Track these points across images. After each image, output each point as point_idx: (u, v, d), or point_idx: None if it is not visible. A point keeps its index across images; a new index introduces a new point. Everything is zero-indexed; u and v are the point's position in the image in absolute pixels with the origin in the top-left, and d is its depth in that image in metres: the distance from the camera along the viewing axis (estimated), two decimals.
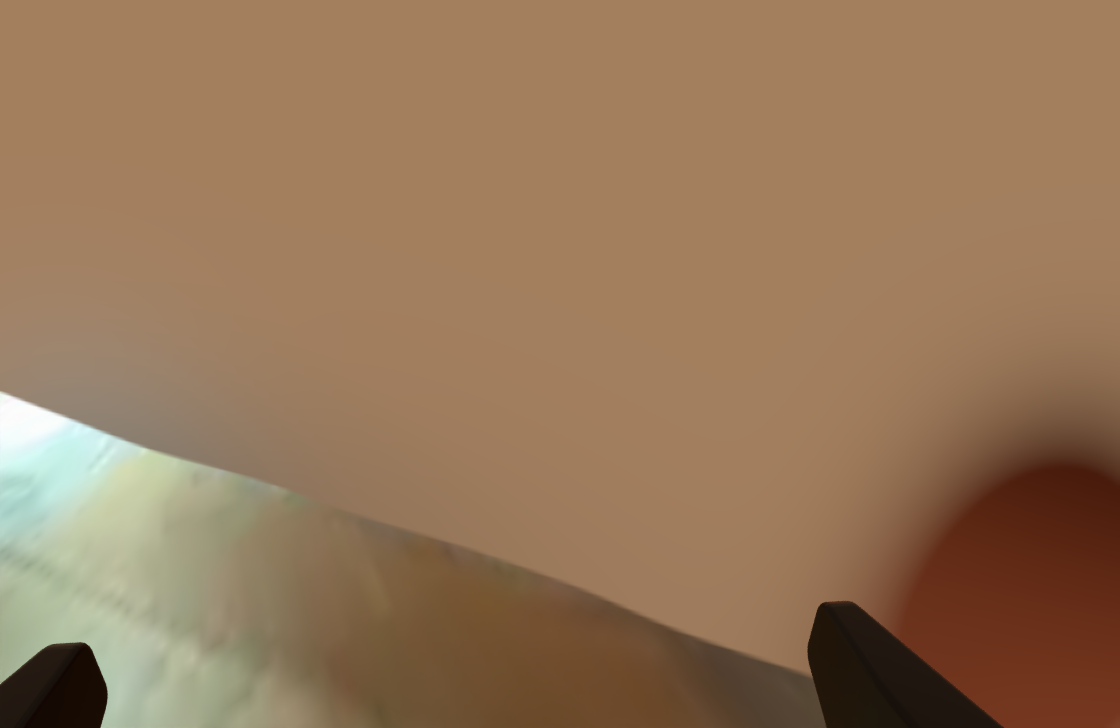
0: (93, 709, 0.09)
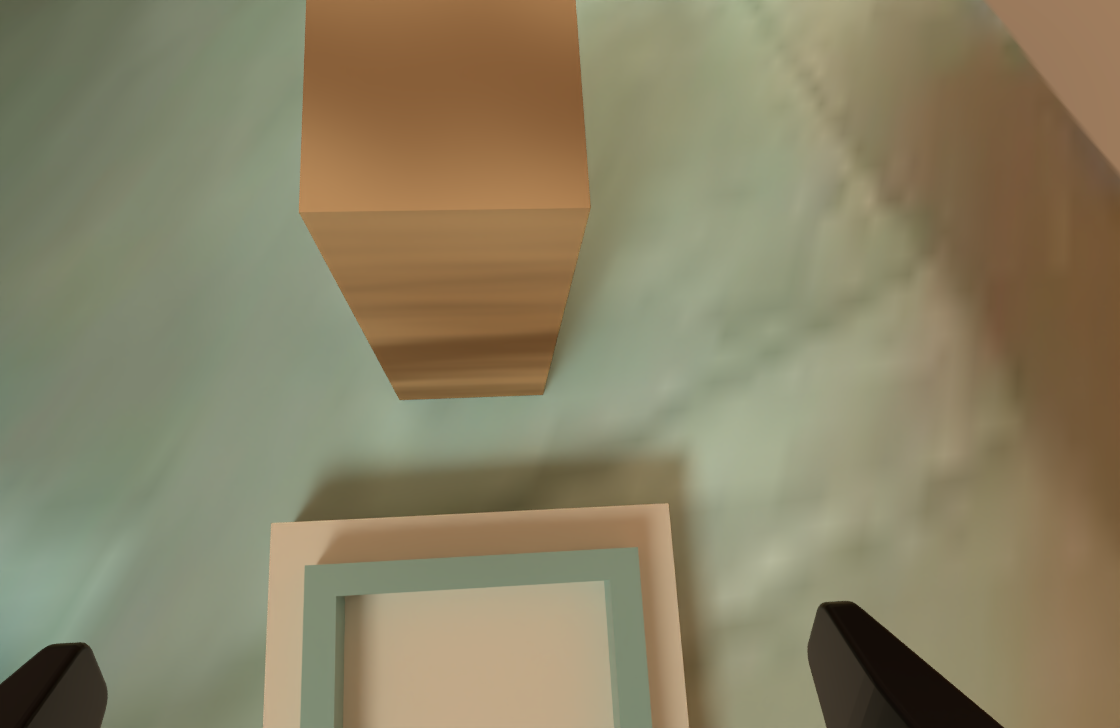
0: (93, 709, 0.09)
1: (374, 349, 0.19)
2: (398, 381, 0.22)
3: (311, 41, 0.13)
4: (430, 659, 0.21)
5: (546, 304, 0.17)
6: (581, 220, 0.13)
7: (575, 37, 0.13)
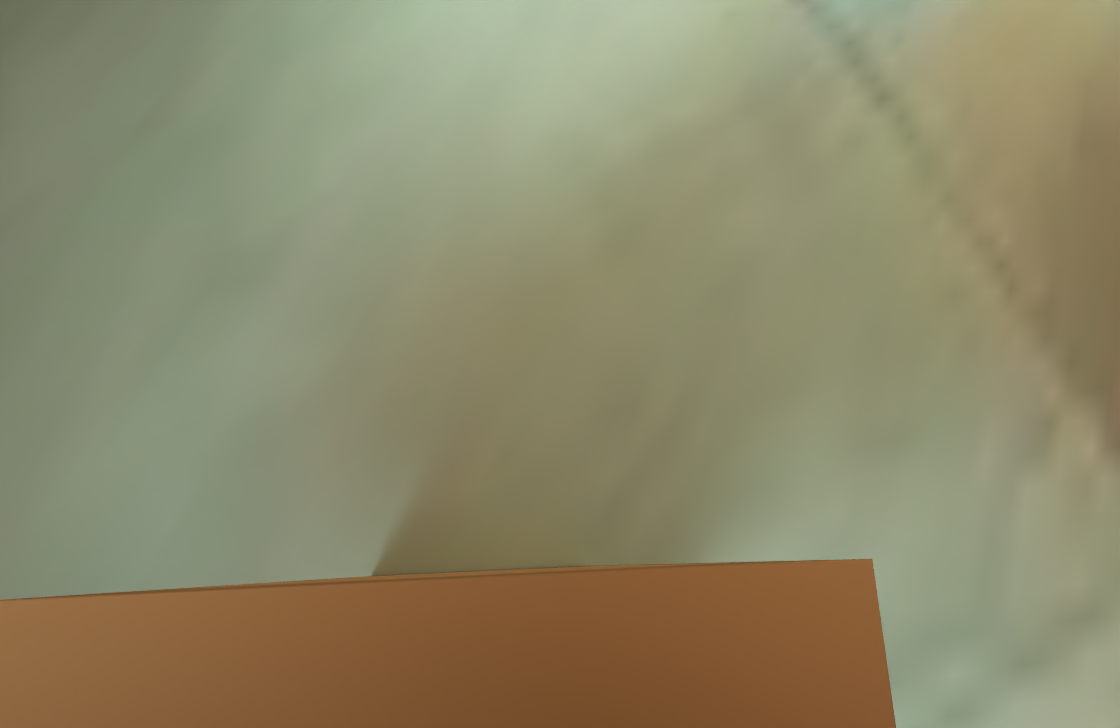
0: None
1: None
2: None
3: None
4: None
5: None
6: None
7: None
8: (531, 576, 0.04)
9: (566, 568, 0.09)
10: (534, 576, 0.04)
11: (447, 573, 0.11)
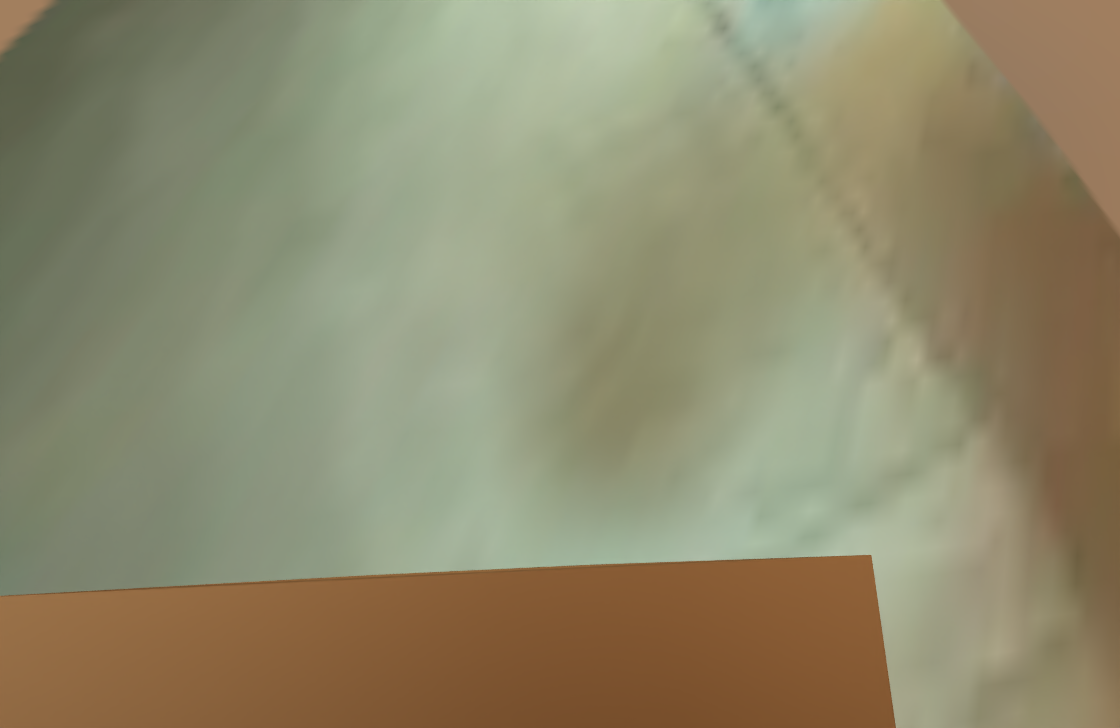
0: None
1: None
2: None
3: None
4: None
5: None
6: None
7: None
8: (530, 572, 0.04)
9: None
10: (533, 572, 0.04)
11: None
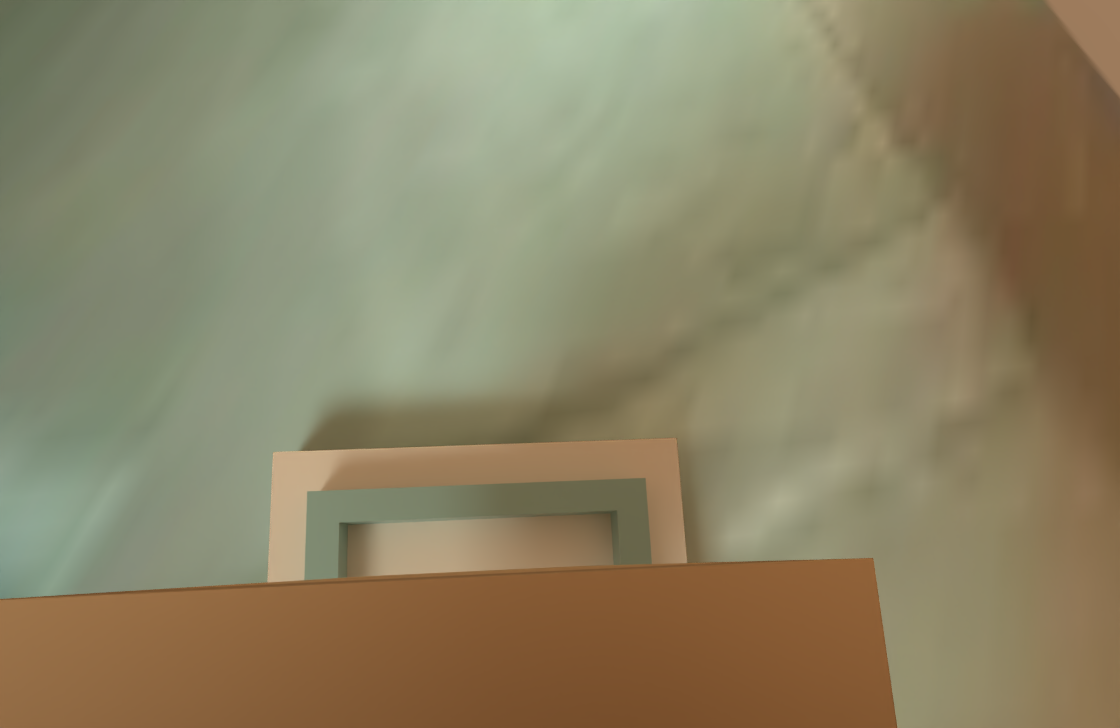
0: None
1: None
2: None
3: None
4: None
5: None
6: None
7: None
8: (530, 576, 0.04)
9: None
10: (533, 576, 0.04)
11: None
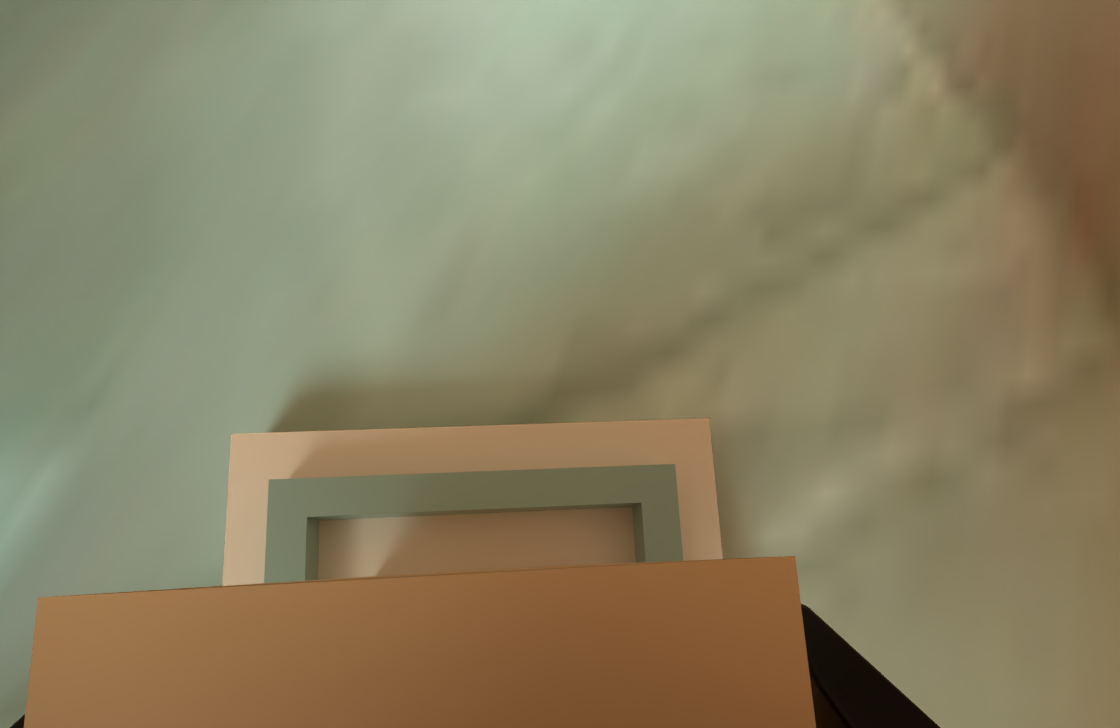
0: None
1: None
2: None
3: None
4: None
5: None
6: None
7: None
8: (518, 571, 0.05)
9: None
10: (521, 571, 0.05)
11: None
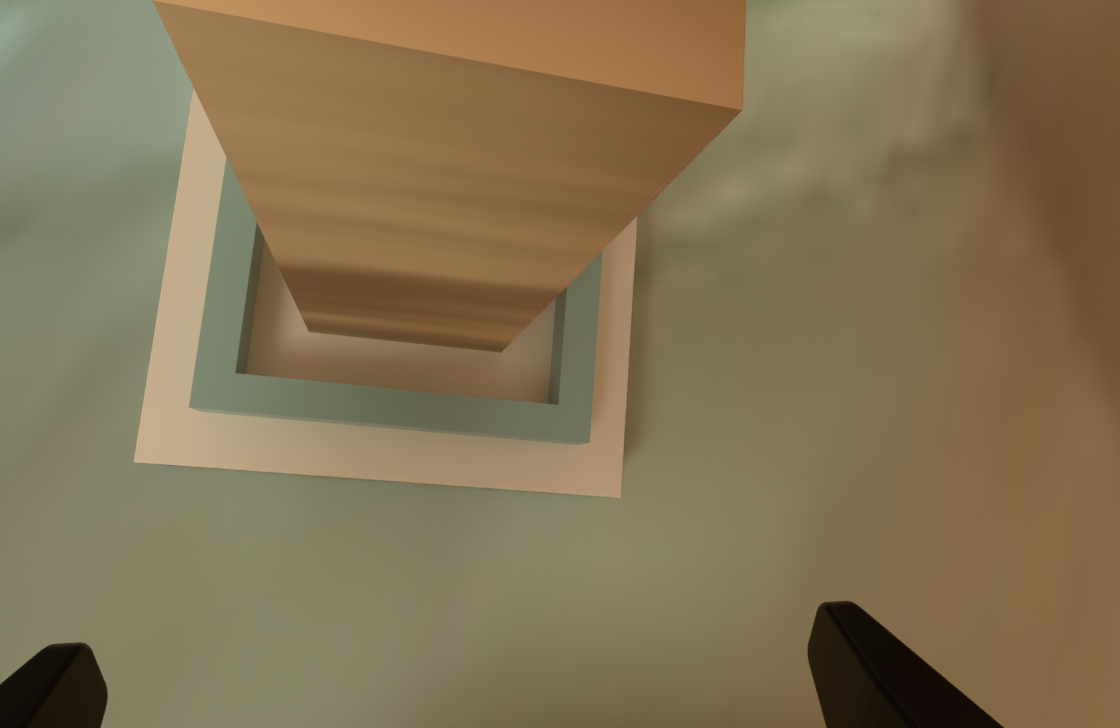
0: (93, 709, 0.09)
1: (282, 270, 0.13)
2: (311, 312, 0.16)
3: None
4: None
5: (565, 253, 0.11)
6: (709, 131, 0.07)
7: None
8: None
9: None
10: None
11: None
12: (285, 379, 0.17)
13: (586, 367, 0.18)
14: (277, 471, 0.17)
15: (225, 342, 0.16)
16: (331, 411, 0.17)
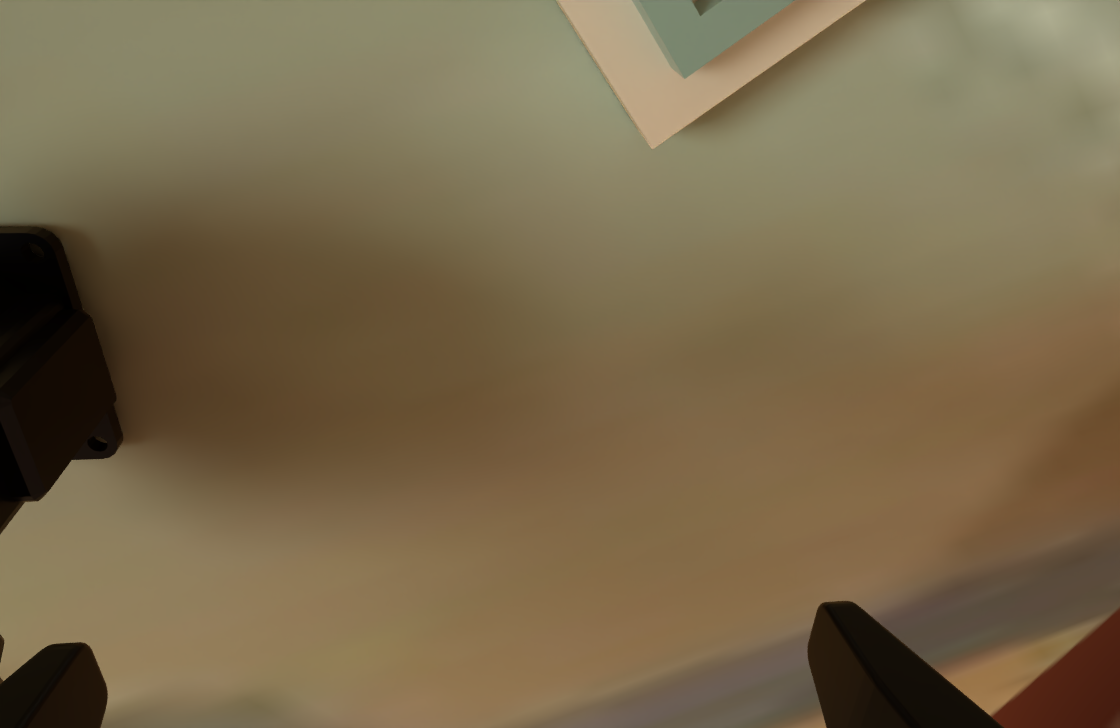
0: (93, 709, 0.09)
1: None
2: None
3: None
4: None
5: None
6: None
7: None
8: None
9: None
10: None
11: None
12: None
13: (758, 13, 0.15)
14: None
15: None
16: None
